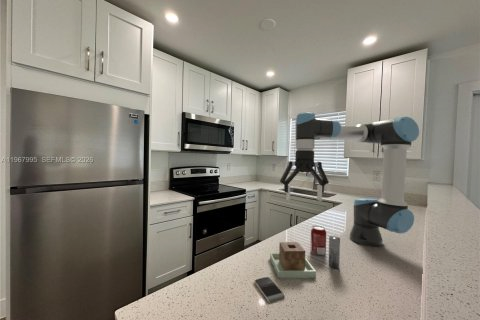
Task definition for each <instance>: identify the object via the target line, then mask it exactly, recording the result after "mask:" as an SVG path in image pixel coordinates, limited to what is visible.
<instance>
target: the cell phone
mask: <svg viewBox="0 0 480 320" xmlns="http://www.w3.org/2000/svg"><path fill="white" fill-rule="evenodd" d="M253 282H254V285H255V286H256V288H257V289H258V291H259V292H260V293H261V295H262V296H263V297H264V298H265V300H266V302H268V303H269V304H273V303H276V302H279V301H282V300H285V296H286V295H285V294H284V292H283V291H282V290H281V289H280V288H279V286H278V285H277V284H276V283H275V282H274V281H273V280H272V279H271V277H268V276H265V277H260V278H256V279H254V281H253Z"/></svg>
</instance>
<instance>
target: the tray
mask: <svg viewBox="0 0 480 320" xmlns="http://www.w3.org/2000/svg"><path fill="white" fill-rule="evenodd" d="M269 260H270V263H271V265H272V267H273V270H274V271H275V274H276V276H277V278H278V279H279V280H280V279H316V278H317V270H316V269H315V268H314V266H312V264H311V262H309V260H308V259H307V258H306V257H305V270H303V271H284V270H283V268H282V266H281V264H280V262H279V252H270V253H269Z"/></svg>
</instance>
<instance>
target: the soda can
mask: <svg viewBox="0 0 480 320" xmlns="http://www.w3.org/2000/svg"><path fill="white" fill-rule="evenodd" d="M310 252H312V254H314V255H317V256H324V255H325V254H327V253H326V252H327V231H326V228H325V227H324V226H322V225H312V228H311V229H310Z"/></svg>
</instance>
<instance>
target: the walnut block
mask: <svg viewBox="0 0 480 320" xmlns="http://www.w3.org/2000/svg"><path fill="white" fill-rule="evenodd" d="M278 253H279V262H280V264H281V266H282V268H283V270H284V271H303V270H305V258H306V250H305V248H303V246H302V245H301V244H300V242H298V241H287V242H286V241H281V242H280V241H279V252H278Z"/></svg>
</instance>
